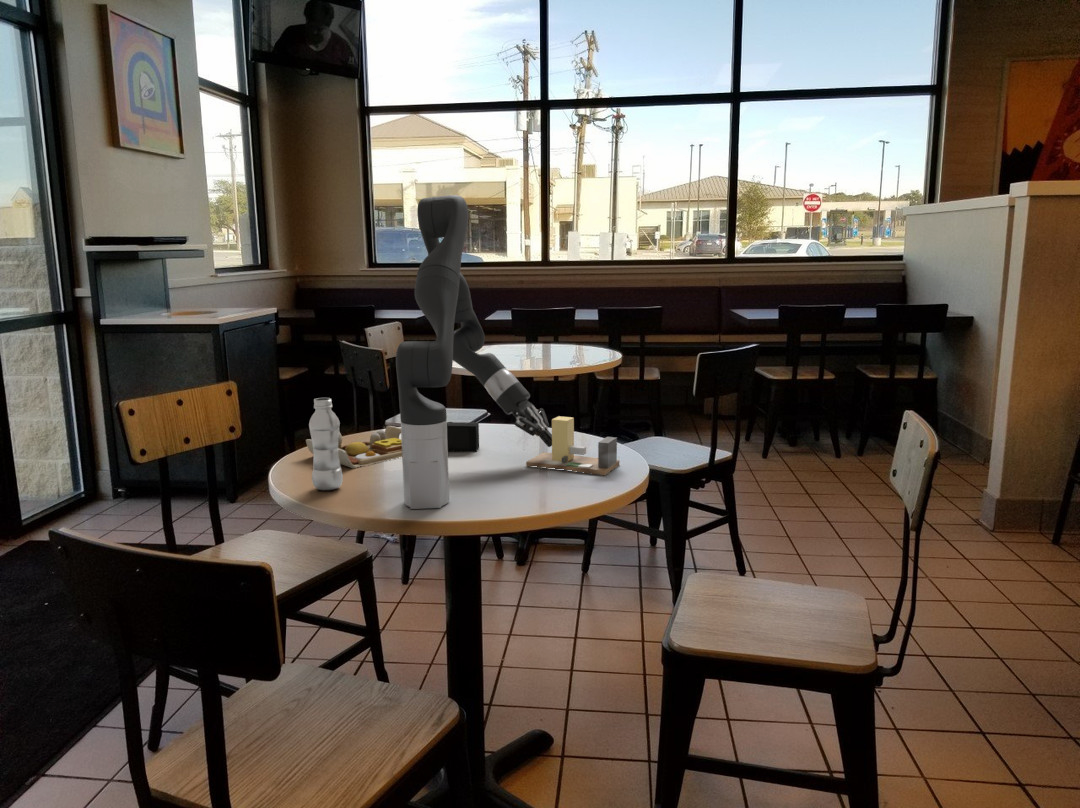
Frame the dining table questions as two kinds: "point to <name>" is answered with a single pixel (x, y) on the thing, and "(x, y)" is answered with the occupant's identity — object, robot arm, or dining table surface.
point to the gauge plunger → (564, 440)
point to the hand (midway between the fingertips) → (553, 444)
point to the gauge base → (584, 460)
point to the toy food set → (369, 448)
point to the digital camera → (462, 436)
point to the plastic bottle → (325, 446)
